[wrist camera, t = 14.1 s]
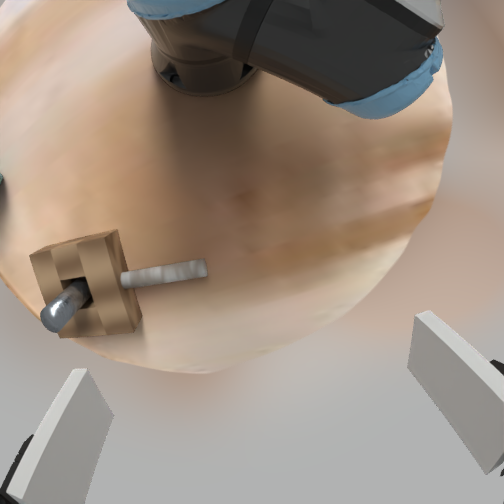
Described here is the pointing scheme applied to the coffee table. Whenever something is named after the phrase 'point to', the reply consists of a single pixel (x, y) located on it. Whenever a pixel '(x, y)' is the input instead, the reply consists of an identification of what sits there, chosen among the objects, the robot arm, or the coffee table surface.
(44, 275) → the block
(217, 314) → the coffee table surface
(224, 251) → the coffee table surface
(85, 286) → the grey metal peg
